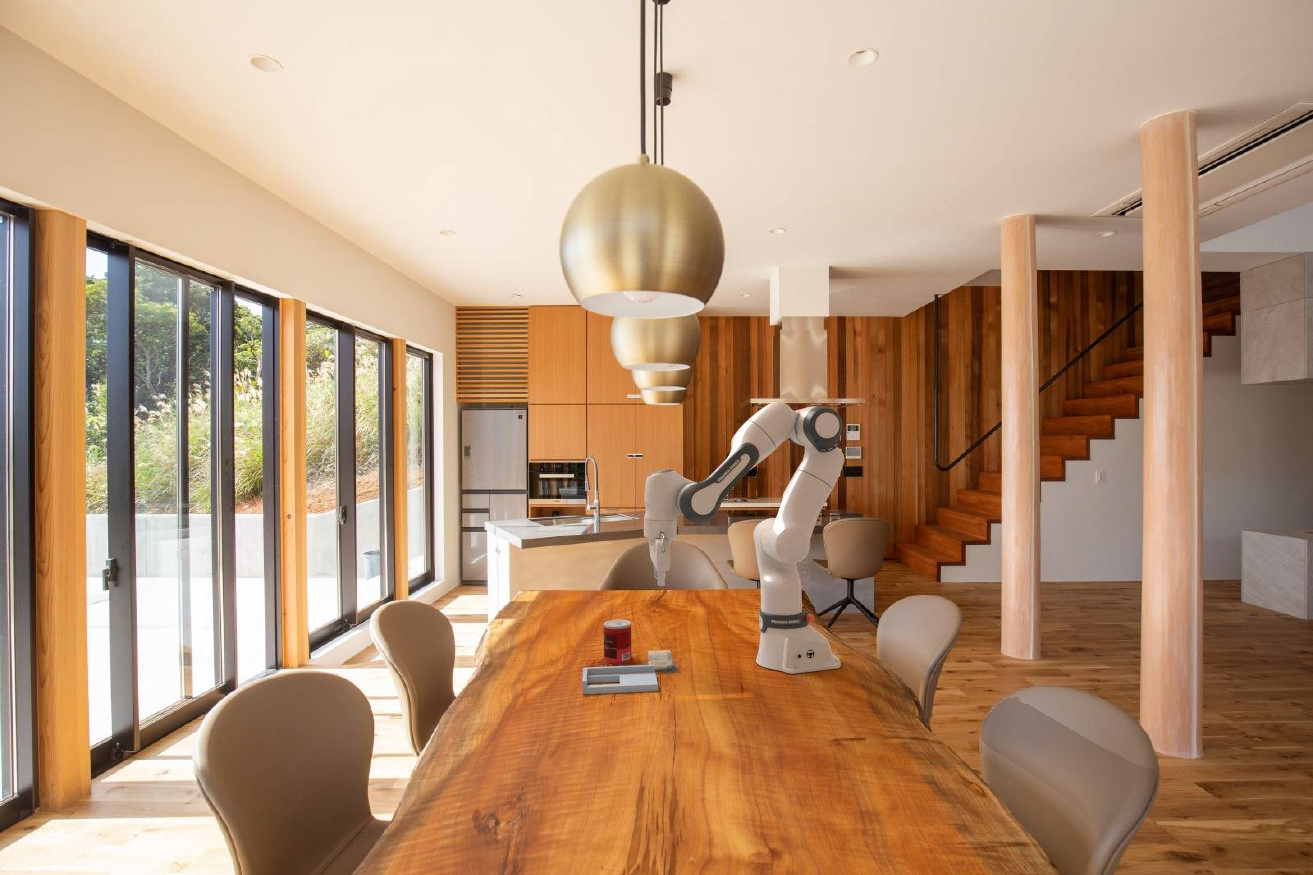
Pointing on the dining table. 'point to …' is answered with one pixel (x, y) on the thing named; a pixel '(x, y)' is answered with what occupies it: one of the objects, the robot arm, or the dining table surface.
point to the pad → (674, 670)
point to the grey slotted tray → (619, 679)
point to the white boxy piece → (663, 656)
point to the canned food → (617, 641)
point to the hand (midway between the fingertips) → (659, 582)
